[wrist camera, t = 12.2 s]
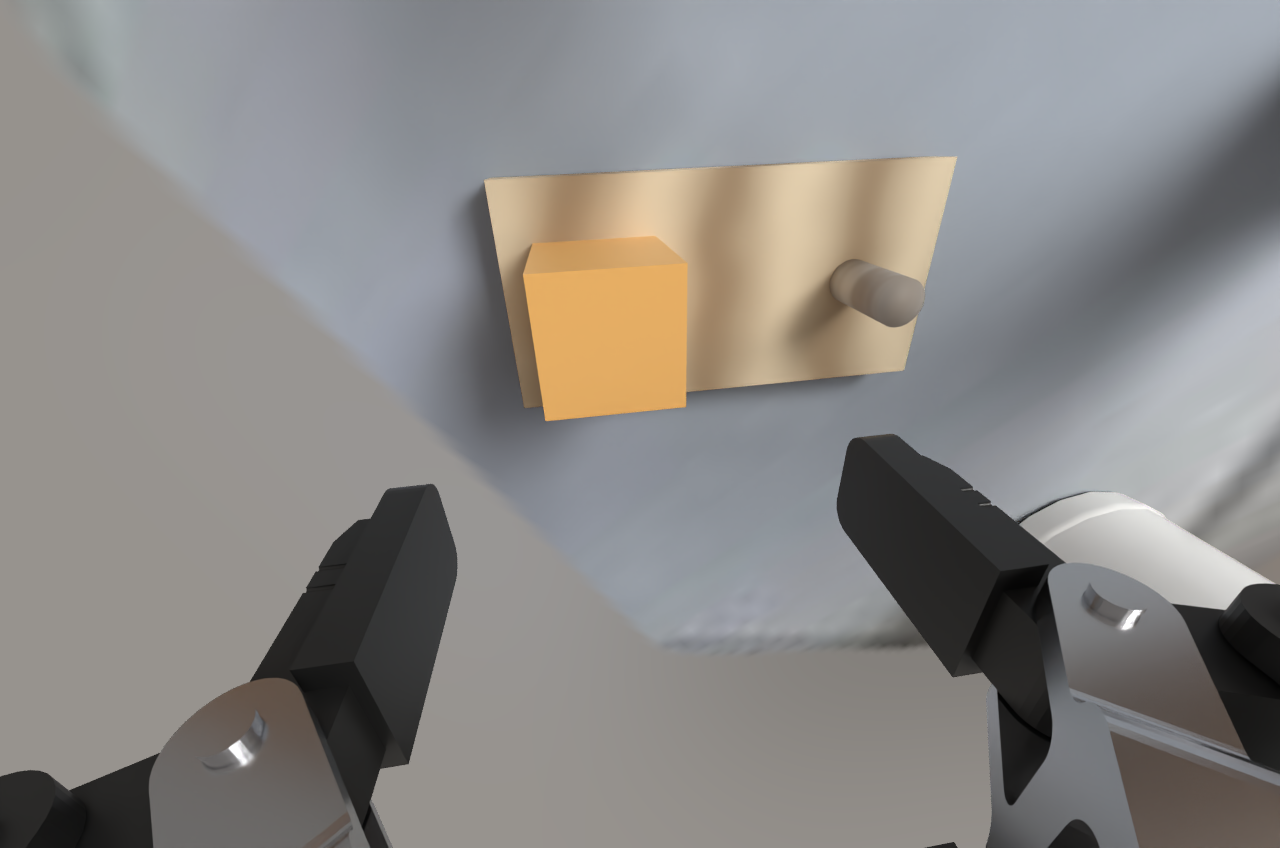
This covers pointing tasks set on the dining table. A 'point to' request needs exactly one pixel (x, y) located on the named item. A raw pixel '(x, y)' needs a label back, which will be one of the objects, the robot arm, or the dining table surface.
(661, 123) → the dining table surface
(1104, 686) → the robot arm
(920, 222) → the wooden peg rack
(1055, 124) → the dining table surface
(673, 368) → the wooden toy cube
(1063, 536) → the bottle
